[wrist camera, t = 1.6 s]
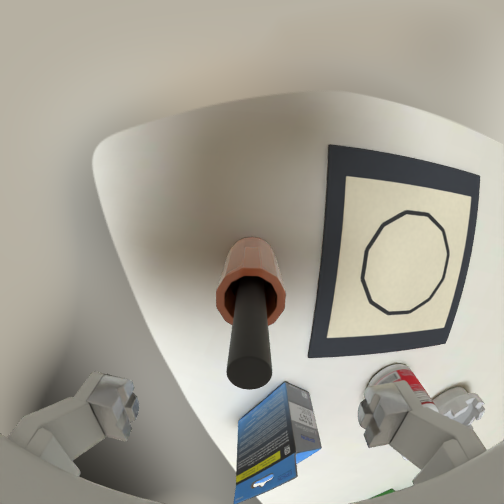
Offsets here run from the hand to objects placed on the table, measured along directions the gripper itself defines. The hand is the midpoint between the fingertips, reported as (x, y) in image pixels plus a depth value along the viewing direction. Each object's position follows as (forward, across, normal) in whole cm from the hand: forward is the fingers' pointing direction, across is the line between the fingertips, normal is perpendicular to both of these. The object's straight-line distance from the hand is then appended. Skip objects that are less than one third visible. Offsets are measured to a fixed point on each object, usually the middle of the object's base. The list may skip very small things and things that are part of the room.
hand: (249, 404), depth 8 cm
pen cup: (+16, 0, 0) cm, 16 cm away
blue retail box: (+16, -3, +18) cm, 24 cm away
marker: (+15, 0, 0) cm, 15 cm away
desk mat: (+16, -15, 0) cm, 22 cm away
